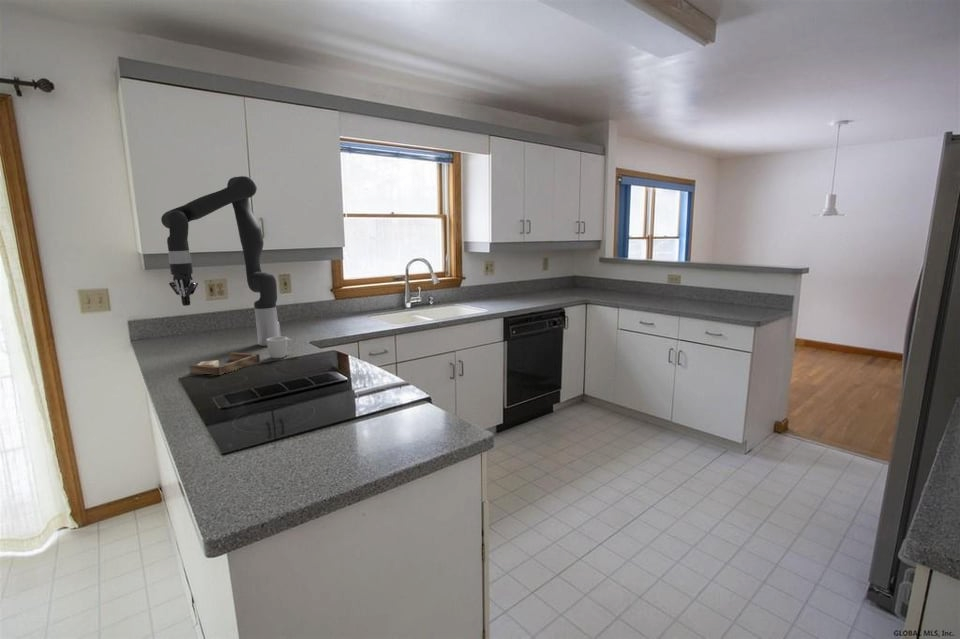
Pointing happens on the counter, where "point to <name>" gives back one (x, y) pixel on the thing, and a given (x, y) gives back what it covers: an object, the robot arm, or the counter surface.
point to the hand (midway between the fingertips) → (186, 305)
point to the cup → (278, 346)
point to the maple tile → (210, 363)
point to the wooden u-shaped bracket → (239, 362)
